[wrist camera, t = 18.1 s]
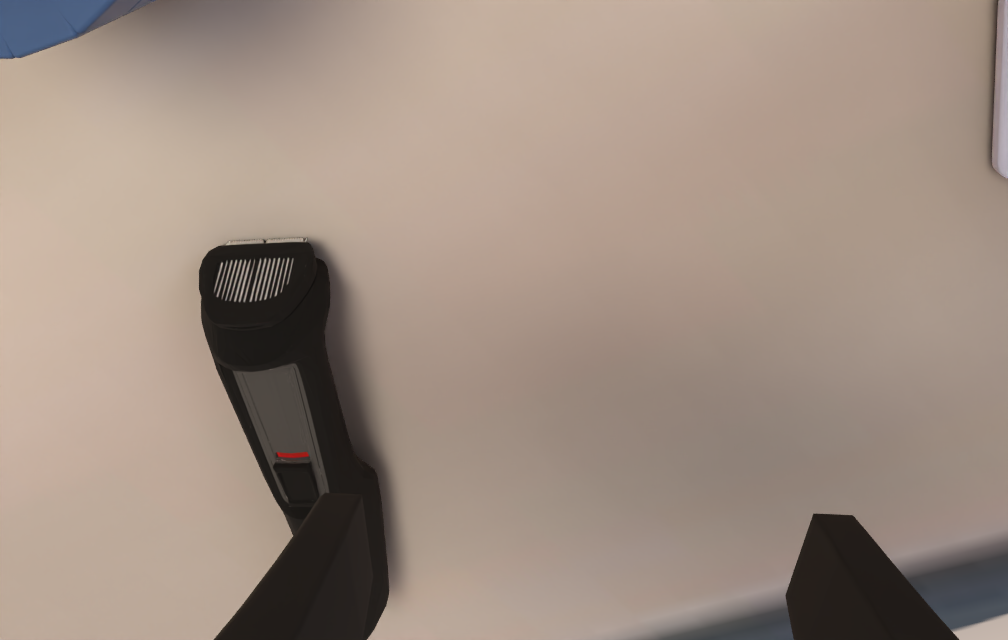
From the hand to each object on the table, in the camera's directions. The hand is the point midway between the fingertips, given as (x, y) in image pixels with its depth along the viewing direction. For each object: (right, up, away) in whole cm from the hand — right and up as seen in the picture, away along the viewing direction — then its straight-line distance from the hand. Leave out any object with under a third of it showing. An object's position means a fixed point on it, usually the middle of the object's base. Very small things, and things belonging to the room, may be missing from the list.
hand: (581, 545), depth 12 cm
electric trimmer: (-7, 0, +13) cm, 15 cm away
